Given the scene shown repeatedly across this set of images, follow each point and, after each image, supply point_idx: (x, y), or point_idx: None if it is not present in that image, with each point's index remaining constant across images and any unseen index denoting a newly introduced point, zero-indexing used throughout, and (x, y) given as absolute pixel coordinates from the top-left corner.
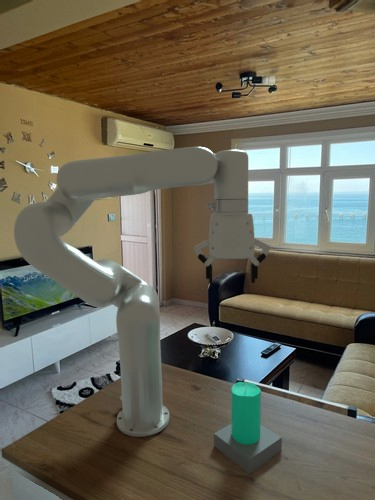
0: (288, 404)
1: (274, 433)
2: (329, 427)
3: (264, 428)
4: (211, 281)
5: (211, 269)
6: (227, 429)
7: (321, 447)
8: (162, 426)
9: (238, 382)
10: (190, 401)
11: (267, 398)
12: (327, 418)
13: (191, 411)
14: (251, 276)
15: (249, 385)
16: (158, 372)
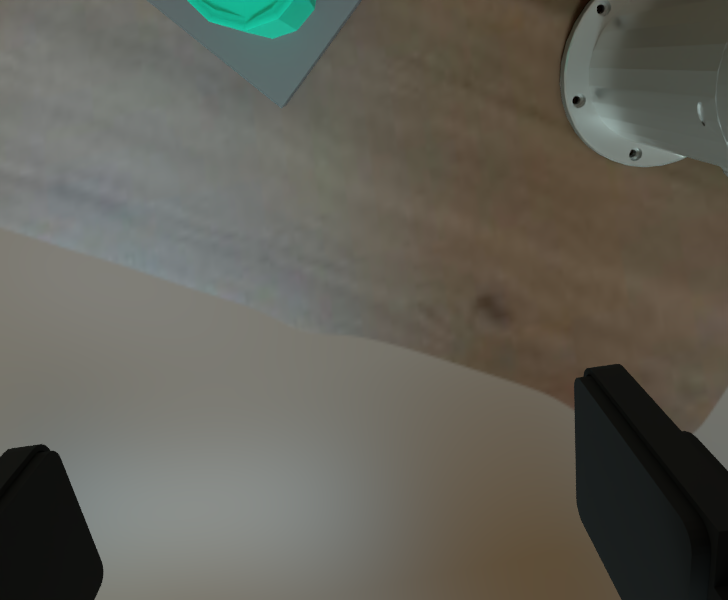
0: (157, 266)
1: (168, 14)
2: (13, 161)
3: (206, 38)
4: (592, 380)
5: (678, 498)
6: (337, 1)
7: (30, 45)
8: (579, 21)
9: (281, 12)
10: (500, 217)
11: (231, 288)
12: (23, 210)
13: (487, 158)
14: (25, 526)
15: (229, 14)
16: (696, 43)
